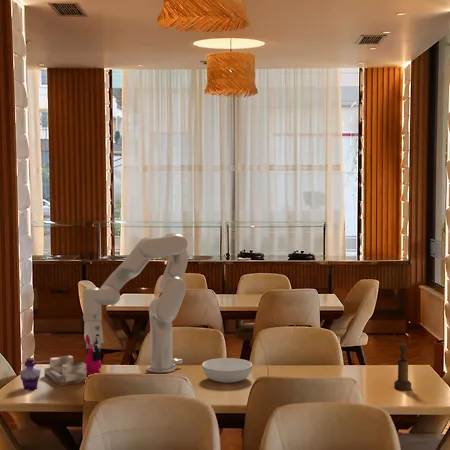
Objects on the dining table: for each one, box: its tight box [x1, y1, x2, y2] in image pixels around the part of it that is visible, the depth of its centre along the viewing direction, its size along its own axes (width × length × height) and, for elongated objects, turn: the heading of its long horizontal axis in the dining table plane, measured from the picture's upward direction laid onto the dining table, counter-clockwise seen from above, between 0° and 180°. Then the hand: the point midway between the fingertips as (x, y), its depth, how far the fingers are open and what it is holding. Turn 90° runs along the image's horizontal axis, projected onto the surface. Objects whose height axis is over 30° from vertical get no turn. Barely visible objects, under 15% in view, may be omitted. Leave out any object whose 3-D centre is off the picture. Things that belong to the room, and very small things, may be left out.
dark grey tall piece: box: [393, 342, 412, 391], centre depth 304 cm, size 7×6×18 cm
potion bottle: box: [19, 357, 41, 391], centre depth 305 cm, size 9×9×12 cm
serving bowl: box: [201, 357, 253, 384], centre depth 318 cm, size 21×21×7 cm
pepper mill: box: [84, 335, 102, 377], centre depth 325 cm, size 7×7×20 cm
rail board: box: [44, 355, 87, 387], centre depth 319 cm, size 12×18×8 cm, turn 32°
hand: (93, 358), depth 325 cm, fingers open, 5 cm apart
